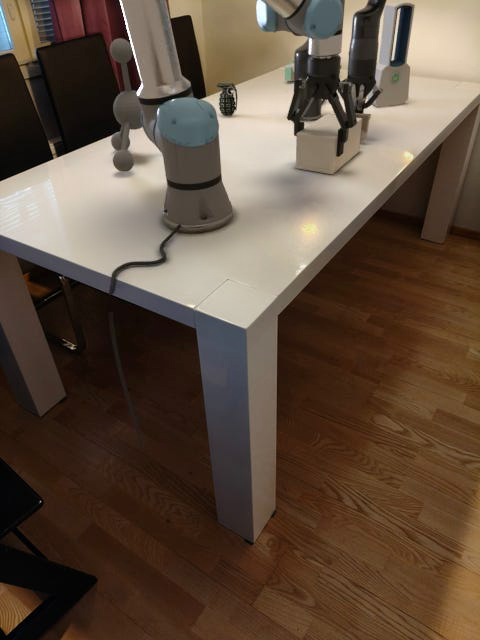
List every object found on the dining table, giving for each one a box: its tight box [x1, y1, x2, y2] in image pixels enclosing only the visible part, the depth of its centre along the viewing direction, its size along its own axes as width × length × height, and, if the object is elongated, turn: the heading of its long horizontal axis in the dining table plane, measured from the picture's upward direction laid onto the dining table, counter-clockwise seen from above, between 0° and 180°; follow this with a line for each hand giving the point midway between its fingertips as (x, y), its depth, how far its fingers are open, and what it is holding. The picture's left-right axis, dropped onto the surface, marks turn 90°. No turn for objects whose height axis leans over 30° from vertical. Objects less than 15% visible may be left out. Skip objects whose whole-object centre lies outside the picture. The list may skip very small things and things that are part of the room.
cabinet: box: [295, 113, 362, 175], centre depth 128 cm, size 18×10×9 cm, turn 148°
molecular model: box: [109, 37, 143, 173], centre depth 130 cm, size 24×22×30 cm
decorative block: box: [284, 60, 342, 82], centre depth 206 cm, size 26×6×20 cm
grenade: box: [215, 82, 238, 117], centre depth 166 cm, size 7×6×10 cm
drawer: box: [344, 111, 372, 142], centre depth 136 cm, size 22×9×7 cm, turn 148°
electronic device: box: [366, 0, 416, 108], centre depth 163 cm, size 12×8×30 cm, turn 105°
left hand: (319, 151), depth 125 cm, fingers closed on cabinet, 10 cm apart
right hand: (356, 122), depth 141 cm, fingers closed
